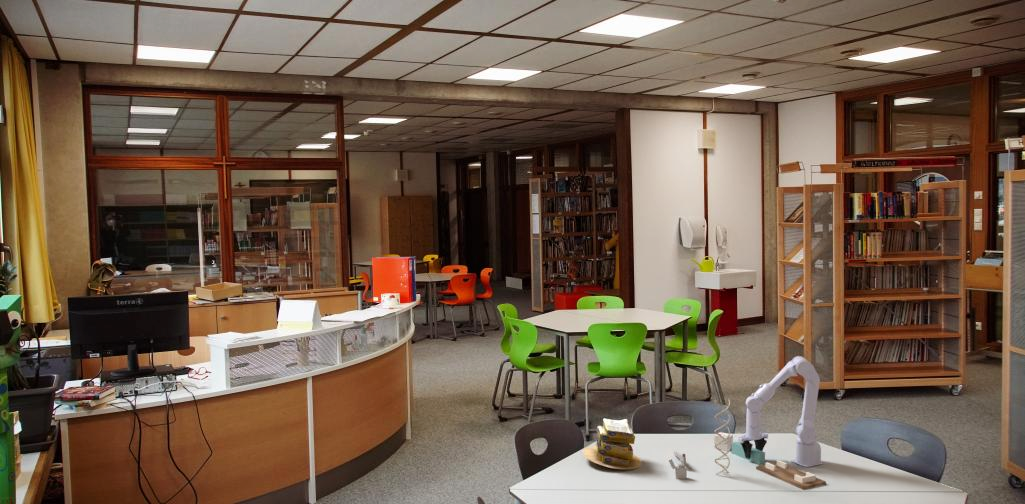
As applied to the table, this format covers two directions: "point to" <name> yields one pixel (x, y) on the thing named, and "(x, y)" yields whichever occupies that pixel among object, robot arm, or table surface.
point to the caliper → (681, 457)
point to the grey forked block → (679, 470)
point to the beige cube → (723, 446)
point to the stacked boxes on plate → (614, 446)
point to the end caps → (798, 478)
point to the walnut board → (790, 476)
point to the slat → (756, 454)
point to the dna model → (723, 437)
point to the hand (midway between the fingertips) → (753, 457)
